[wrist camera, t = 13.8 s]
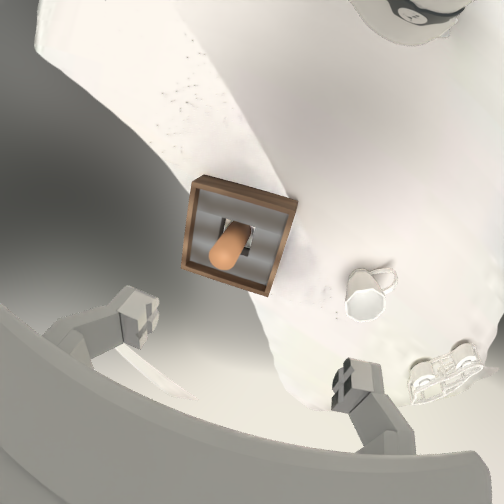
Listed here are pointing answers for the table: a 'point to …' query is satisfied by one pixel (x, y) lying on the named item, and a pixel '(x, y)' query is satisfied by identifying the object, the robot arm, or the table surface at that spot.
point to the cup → (366, 295)
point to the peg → (229, 245)
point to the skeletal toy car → (443, 373)
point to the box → (244, 211)
